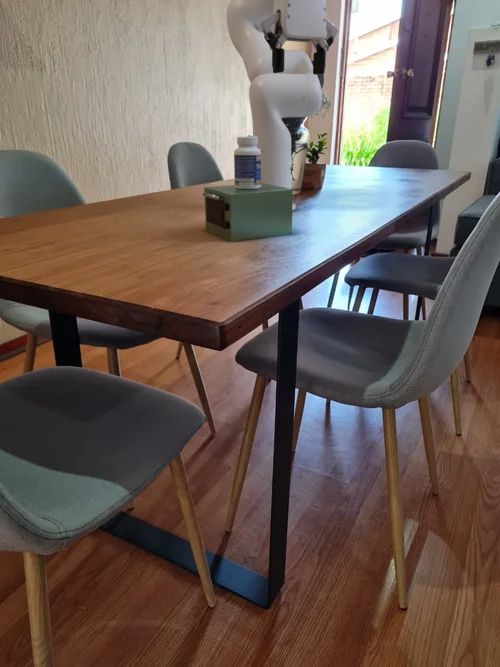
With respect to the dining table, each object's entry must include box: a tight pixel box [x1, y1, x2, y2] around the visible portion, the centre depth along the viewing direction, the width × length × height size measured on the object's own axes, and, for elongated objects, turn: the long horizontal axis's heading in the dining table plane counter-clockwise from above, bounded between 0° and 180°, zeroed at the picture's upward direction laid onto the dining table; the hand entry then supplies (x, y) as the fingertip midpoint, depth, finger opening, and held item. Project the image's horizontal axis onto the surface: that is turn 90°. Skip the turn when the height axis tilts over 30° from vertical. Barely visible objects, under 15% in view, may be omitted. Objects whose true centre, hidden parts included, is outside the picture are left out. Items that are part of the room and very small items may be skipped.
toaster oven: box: [202, 183, 294, 243], centre depth 105 cm, size 12×15×9 cm
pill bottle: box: [233, 135, 261, 189], centre depth 101 cm, size 5×5×10 cm
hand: (298, 73), depth 102 cm, fingers open, 9 cm apart
